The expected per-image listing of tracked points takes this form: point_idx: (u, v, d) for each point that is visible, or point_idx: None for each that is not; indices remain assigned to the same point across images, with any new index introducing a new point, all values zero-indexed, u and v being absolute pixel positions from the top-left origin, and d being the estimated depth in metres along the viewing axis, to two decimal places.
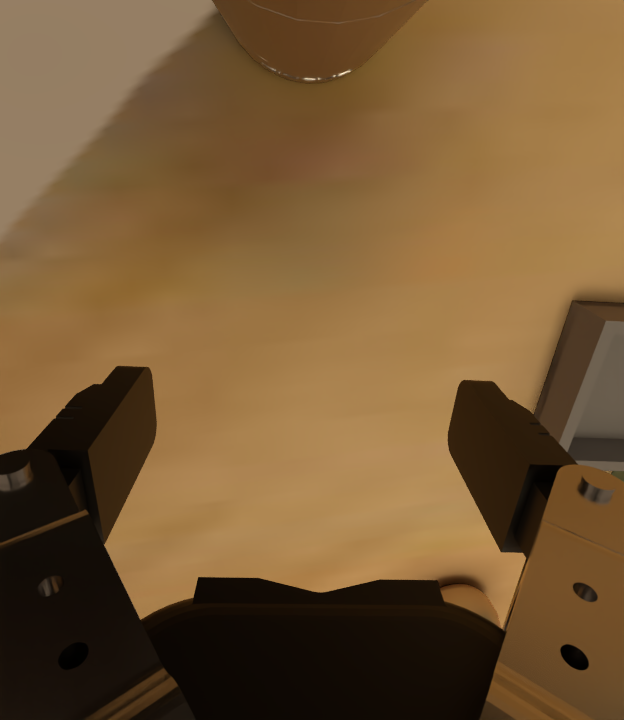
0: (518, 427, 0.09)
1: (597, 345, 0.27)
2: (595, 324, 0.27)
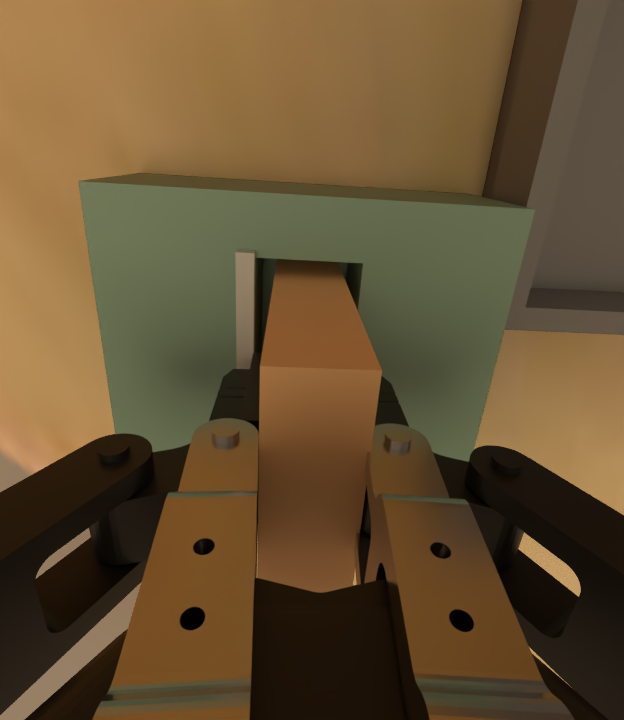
0: None
1: None
2: None
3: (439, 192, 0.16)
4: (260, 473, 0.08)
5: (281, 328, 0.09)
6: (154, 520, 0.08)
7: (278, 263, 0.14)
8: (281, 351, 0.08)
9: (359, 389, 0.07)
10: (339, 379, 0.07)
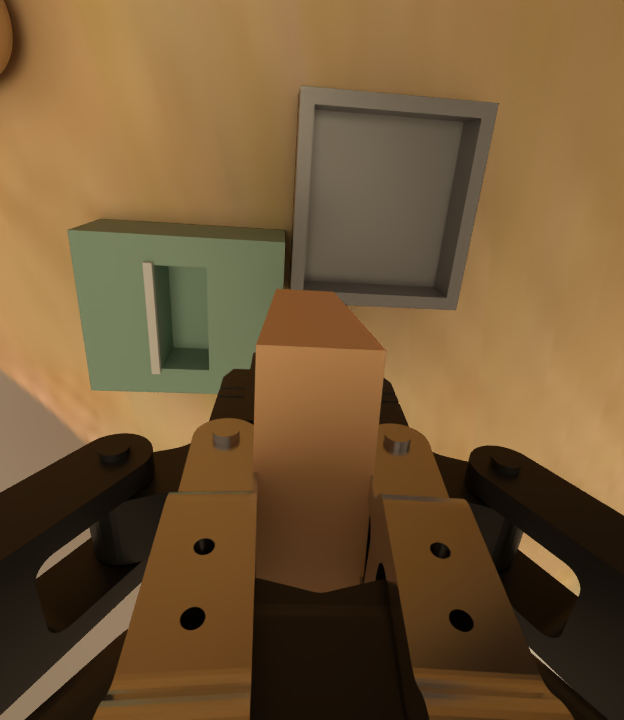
0: None
1: (471, 101, 0.25)
2: None
3: (266, 229, 0.30)
4: None
5: (279, 325, 0.09)
6: (154, 520, 0.08)
7: (276, 293, 0.14)
8: (279, 337, 0.07)
9: (362, 372, 0.07)
10: (341, 361, 0.07)
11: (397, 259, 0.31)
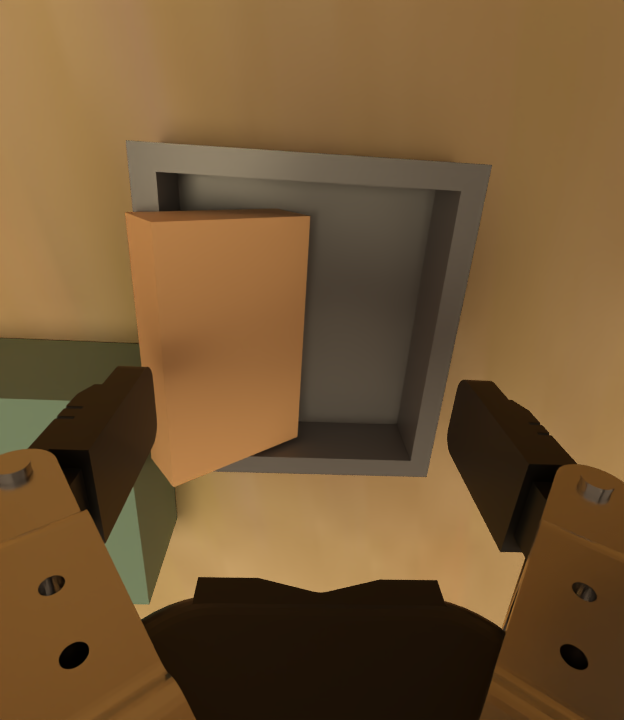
0: (517, 427, 0.09)
1: (441, 163, 0.14)
2: None
3: (131, 346, 0.19)
4: None
5: None
6: None
7: None
8: None
9: (295, 215, 0.15)
10: (293, 213, 0.16)
11: (338, 388, 0.20)
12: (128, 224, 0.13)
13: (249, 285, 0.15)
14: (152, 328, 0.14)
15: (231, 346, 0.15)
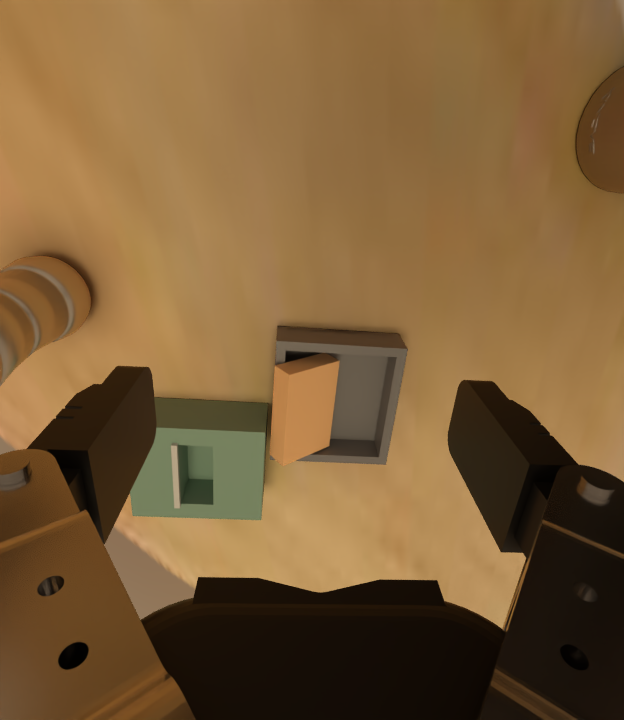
0: (518, 427, 0.09)
1: (389, 348, 0.38)
2: (399, 345, 0.38)
3: (255, 404, 0.43)
4: (306, 357, 0.39)
5: None
6: None
7: None
8: None
9: (334, 360, 0.39)
10: (332, 358, 0.39)
11: (347, 423, 0.44)
12: (275, 369, 0.37)
13: (316, 388, 0.38)
14: (282, 406, 0.37)
15: (308, 411, 0.39)
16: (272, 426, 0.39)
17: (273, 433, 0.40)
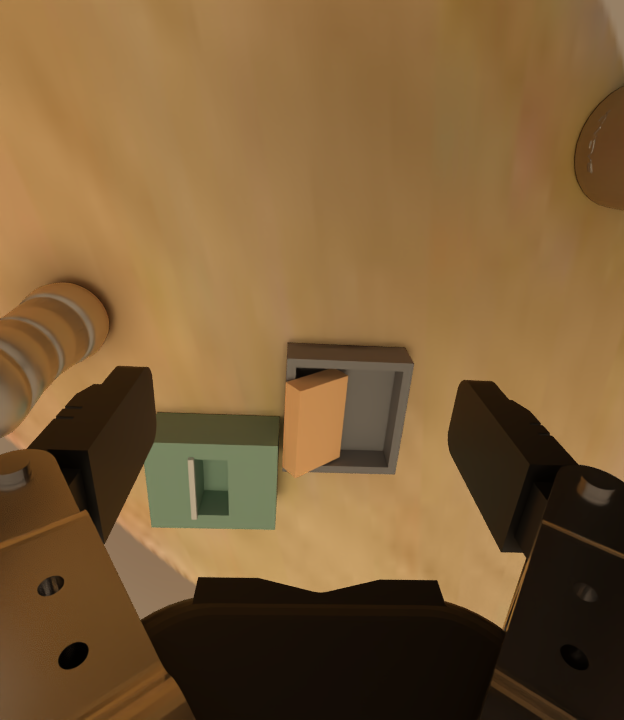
0: (518, 427, 0.09)
1: (396, 363, 0.39)
2: (406, 359, 0.39)
3: (267, 417, 0.44)
4: (315, 373, 0.40)
5: None
6: None
7: None
8: None
9: (342, 375, 0.40)
10: (341, 373, 0.41)
11: (356, 435, 0.45)
12: (287, 386, 0.38)
13: (326, 403, 0.40)
14: (294, 421, 0.39)
15: (318, 425, 0.40)
16: (284, 440, 0.41)
17: (285, 447, 0.41)
